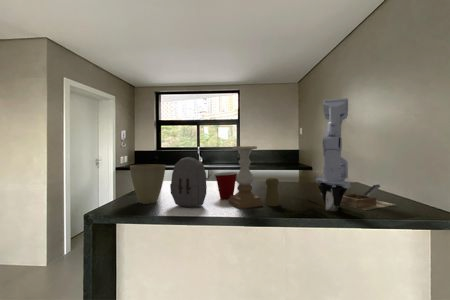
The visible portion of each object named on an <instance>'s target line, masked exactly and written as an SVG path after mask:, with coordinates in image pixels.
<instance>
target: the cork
mask: <svg viewBox="0 0 450 300" xmlns="http://www.w3.org/2000/svg"><path fill="white" fill-rule="evenodd" d="M279 181H280V180H279V178H277V177H267V178H266V180H265V184H266V193H265V201H264V205H265V206H268V207H279V206H280V205H281V204H280V198H279V197H280V195H279V189H278V188H279V187H278V185H279V183H280V182H279Z"/></svg>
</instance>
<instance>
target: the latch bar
mask: <svg viewBox="0 0 450 300" xmlns="http://www.w3.org/2000/svg"><path fill="white" fill-rule="evenodd" d="M380 188H381V185H380V184H373V185H372V186H371V187H370V188H369V189H367V191H365V193H363V194H362V195H365V196H370V197H371V196H372V195H373V194H374V193H375V192H376V191H377V190H378V189H380Z"/></svg>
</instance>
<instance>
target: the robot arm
mask: <svg viewBox="0 0 450 300" xmlns="http://www.w3.org/2000/svg"><path fill="white" fill-rule="evenodd" d="M322 105H323V107H322V108H323V115H324V118H325V120H327V121H328V123H327V124H326V125H325V132H324V137H322V155H323V169H322V172H323V173H322V175H323V177H316V178H315V183H316V184H318V185H317V187H318V189H319V191H320V195H321V196H322V200H323V202H324V203H323V204H325V205H326V190H332V191H333V195H334V205H335V206H338V207H341V205H342V204H341V200H342V197H343V195H345V193H346V192H347V190H348V189H351V182H349V181H346V180H347V179H348V178H349V164H348V160H347V159H345V158H343V157H342V150H343V149H342V148H343V141H342V140H343V139H342V138H343V137H342V124H343V121H345V120H346V119H348V116H349V115H348V114H349V98H347V97H343V98H333V99H331V98H330V99H326V98H325V99H324V100H323V103H322Z"/></svg>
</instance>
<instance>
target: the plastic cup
mask: <svg viewBox="0 0 450 300" xmlns="http://www.w3.org/2000/svg"><path fill="white" fill-rule="evenodd" d="M238 173H239V171H229V172H227V171H226V172H218V173H214V175H213V176H214V177H215V179H216V183H217V188H218V193H219V198H220V200H223V201H228V199H229V198H230V196H231V195H235V194H234V193H235V187H236V182H237V181H236V176H237V175H238Z"/></svg>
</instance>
